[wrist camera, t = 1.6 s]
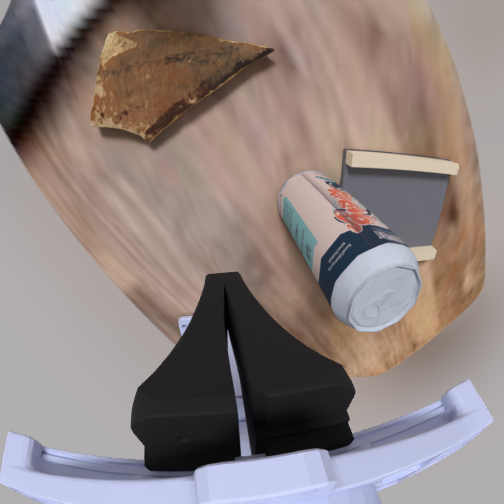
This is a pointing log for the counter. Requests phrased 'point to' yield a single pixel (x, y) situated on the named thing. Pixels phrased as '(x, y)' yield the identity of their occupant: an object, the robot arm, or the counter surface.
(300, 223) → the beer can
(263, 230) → the counter surface
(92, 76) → the counter surface
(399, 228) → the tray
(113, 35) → the shard
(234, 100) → the counter surface
